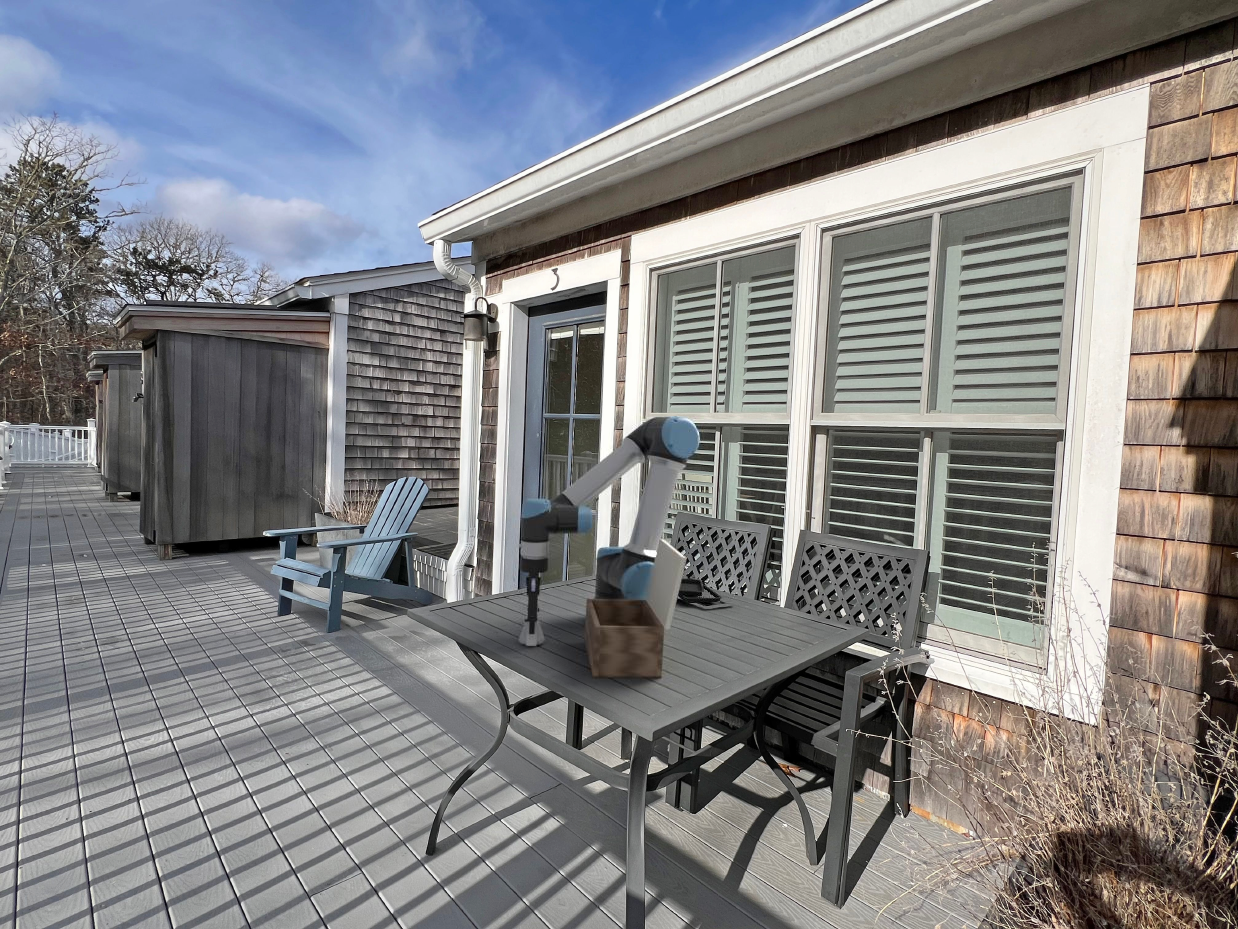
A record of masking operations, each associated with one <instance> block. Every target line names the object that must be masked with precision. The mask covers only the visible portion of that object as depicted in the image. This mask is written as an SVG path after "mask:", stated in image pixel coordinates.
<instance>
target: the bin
mask: <svg viewBox="0 0 1238 929" xmlns="http://www.w3.org/2000/svg"><path fill="white" fill-rule="evenodd" d="M585 605H586V606H585V608H586V609H585V624H584V625H585V626H584V627H585V628H584V645H585V650H586V654H587V658H588V663H589V666H590V671H591V675H592V678H594V679H595V678H597V679H599V678H602V679H603V678H605V679H606V678H608V679H609V678H610V679H611V678H612V679H614V678H615V679H616V678H617V679H618V678H620V679H623V678H624V679H625V678H626V679H627V678H628V679H629V678H630V679H631V678H633V679H635V678H636V679H646V678H647V679H654V678H655V679H662V676H663V675H662V674H663V661H664V660H663V658H664V643H665V642H664V639H665V638H664V636H665V628H664V627H663V625H662V624H661V622H660V621H659V619H658V618H657V616H656V615H655V613H654V612H653V610H652V609H651V607H650V606H649V604H648V603H647V601H646V600H618V599H594V598H587V599H586V604H585Z"/></svg>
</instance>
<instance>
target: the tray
mask: <svg viewBox="0 0 1238 929" xmlns="http://www.w3.org/2000/svg"><path fill="white" fill-rule="evenodd" d="M704 589H705V590H707V591H708V592H710V594H711V595H713V596H714V597H715V598H704V597H703V598H702V597H700V596H702V592H704ZM678 596H679V597H680V598H681V599H682V600H683V601H685V602H684V603H686V602H688V603H698V604H701V605H703V606H706V605H707V603H708V602H718V601H720V599H721V598H723V596H721V595H719V594H718V593H717V592H715V591H714V590H713V589H712V588H710V587H708V586H707V585H705V584H703V581H702V579H698V578H697V579H696V578H684V577H682V580H681V584H680V588H679V593H678ZM698 596H699V597H698ZM683 601H682V602H683ZM688 603H687V604H688ZM704 603H705V604H704ZM708 604H709V603H708Z"/></svg>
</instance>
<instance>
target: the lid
mask: <svg viewBox="0 0 1238 929" xmlns="http://www.w3.org/2000/svg"><path fill="white" fill-rule="evenodd" d="M686 563H687V557H686V556H684V555H683V554H682V552H680V551H679V550H677V549H676V548H675V547H673V546H672V544H670V543H669V542H668V541H666V540H665V539H662V538H661V539H660V540H659V544H658V548H657V552H656V557H655V561H654V565H653V569H652V573H651V578H650V582H649V586H648V590H647V594H646V599H645V600H646V601H647V603H648V604H649V606H650V607H651V609H652V610H653V612H654V613H655V615H656V616H657V618H658V619H659V621H660V622H661V624H662V625H663V627H664V630H668V631H669V630H671V625H672V621H673V617H674V613H675V609H676V604H677V600H678V599H677V597H678V593H679V588H680V584H681V580H682V578H683V576H684V571H685V568H686Z"/></svg>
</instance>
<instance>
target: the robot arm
mask: <svg viewBox="0 0 1238 929" xmlns="http://www.w3.org/2000/svg"><path fill="white" fill-rule="evenodd" d="M700 439H701V438H700V432H699V429H698V428H697V427H696V424H695V423H694V422H693V421H691V419H689V418H686V417H683V416H677V415H673V416H655V417H653V418H649V419H648V420H646V421H645V422H643V423H642V424H640V425H639V426H638V427H636V428H634V430H633V431H632V432H630V433H629V434H628V435H627V436H625V437H624V438H623V439H622V444H620V445H619V446H618V447H617V448H616V449H614V450H613V451H612V452H610V453H609V454H608V455H607V456H606V457H604V458H603V459H602V460H600V461H599V462H598V463H597V464H596V465H594V466H593V467H592V468H591V469H589V470H588V471H587V472H585V474H583V475H582V476H580V477H579V478H578V479H577V480H576V481H574V482H573V483H572V484H570V485H569V486H568V487H567V488H566V489H565V490H564V491H562V492H561V493H559V494H558V495H556V497H554V498H553V499H547V498H526V499H523V501H522V506H521V515H520V517H521V520H520V522H521V525H520V526H521V528H520V530H521V533H520V534H521V535H520V543H518V548H520V555H521V556H520V558H519V570H520V572H522V573H527V574H528V576H526V577H525V579H526V580H525V585H526V596H527V598H528V599H527V605H528V607H527V613H526V615H527V614H528V618H527V617H526V618H525V619H524V623H525V622H527V632H526V644H525V646H526V647H532V646H533V647H537V644H536V642H537V619H539V617H538V618H537V604H538V600H539V599H538V597H539V596H540V591H541V589H540V587H541V585H542V577H541V576H539V574H543V573H544V574H545V573H546V572H548V570H549V558H548V556H549V552H550V535H560V534H561V535H565V534H566V535H569V534H573V535H574V534H577V535H580V534H588V533H589V532H590V531H591V529H592V527H593V524H594V523H593V522H594V517H593V512H592V510H591V508H590V507H589V506H587V505H588V504H589V503H591V502H593V500H595V498H597V497H598V496H599V495H601V494H602V493H603V492H605V490H607V489H608V488H610V487H611V486H612V485H613V484H614V483H615V482H617V481H619V479H620V478H622V477H623V476H624V475H625V474H626V473H627V472H629V471H630V470H631V469H632V468H634V467H635V466H636V465H638V464H644V463H645V462H647V460H648V461H649V463H650V464H649V467H648V468H649V469H648V472H647V476H646V478H645V479H646V481H645V484H644V488H643V489H642V490H643V491H642V493H641V494H642V495H641V499H640V502H639V506H638V510H637V513H636V516H635V517H636V518H635V521H634V525H633V528H632V532H631V535H630V539H629V542H628V543H627V544H625V545H624V546H602V547H600V548H598V550H597V552H596V558H595V560H596V562H595V563H596V564H595V570H596V571H595V587H594V588H595V589H594V590H595V591H594V597H593V599H618V600H645V599H646V594H647V590H648V586H649V582H650V578H651V573H652V569H653V565H654V561H655V557H656V552H657V548H658V544H659V540H660V539H662V537H663V533H664V528H665V525H666V523H667V517H668V515H669V514H668V513H669V510H670V507H671V503H672V499H673V495H674V491H675V489H676V488H675V487H676V484H677V482H678V476H679V473H680V472H681V471H682V470H683V469H685V468H686V467H687V463H688V460H689V457H692V456H693V455H694V454H695V453H696V452H697V450H698V449H699V447H700V446H699V445H700ZM538 612H539V613H540V608H539V607H538ZM530 616H534V617H530Z"/></svg>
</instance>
